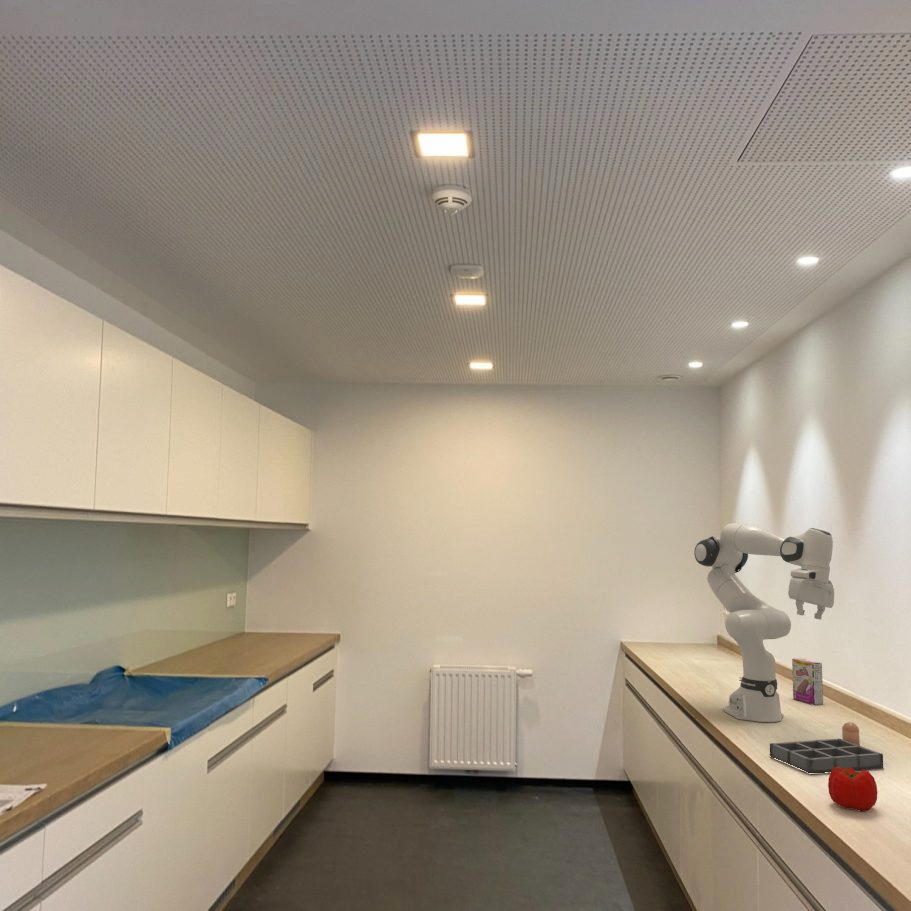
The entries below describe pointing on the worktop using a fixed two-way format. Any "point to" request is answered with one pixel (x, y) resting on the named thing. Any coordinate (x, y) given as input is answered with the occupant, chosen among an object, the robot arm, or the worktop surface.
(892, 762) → the worktop surface
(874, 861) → the worktop surface
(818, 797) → the worktop surface
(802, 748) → the egg carton
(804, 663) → the candy bar box
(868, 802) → the tomato
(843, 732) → the terracotta egg
